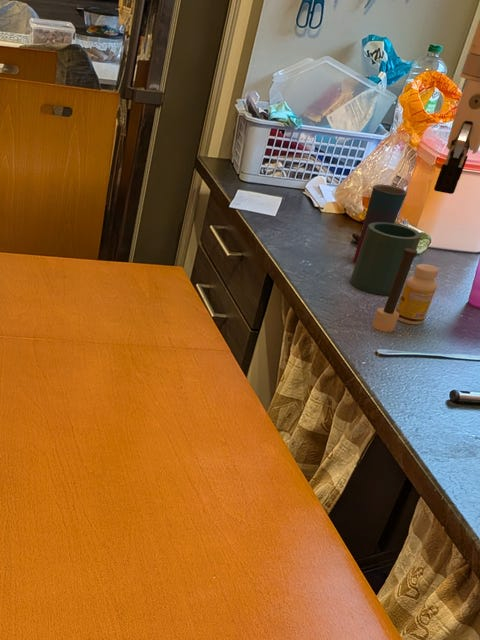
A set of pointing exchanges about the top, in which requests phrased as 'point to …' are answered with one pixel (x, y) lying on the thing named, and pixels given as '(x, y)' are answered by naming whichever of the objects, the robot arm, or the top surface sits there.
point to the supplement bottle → (417, 294)
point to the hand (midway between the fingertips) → (446, 185)
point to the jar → (382, 256)
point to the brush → (394, 295)
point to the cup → (382, 208)
